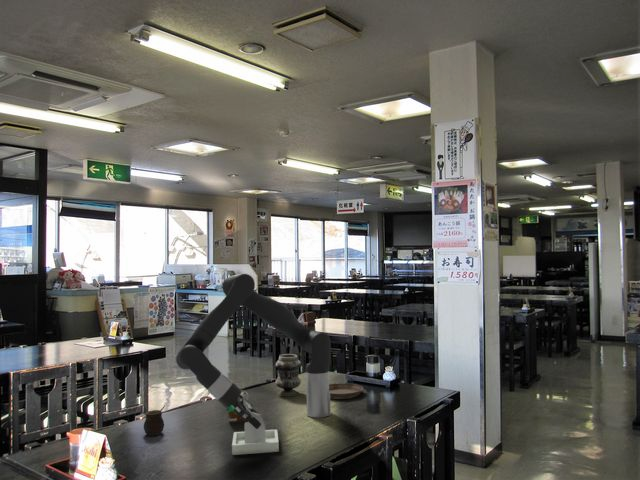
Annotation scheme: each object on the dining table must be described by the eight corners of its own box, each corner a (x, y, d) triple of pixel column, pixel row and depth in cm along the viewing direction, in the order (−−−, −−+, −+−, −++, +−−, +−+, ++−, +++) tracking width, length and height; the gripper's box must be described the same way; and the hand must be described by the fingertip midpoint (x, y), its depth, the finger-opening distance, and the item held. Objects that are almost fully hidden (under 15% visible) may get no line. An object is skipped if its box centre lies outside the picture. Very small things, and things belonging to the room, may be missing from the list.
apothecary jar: (300, 397, 232) (299, 357, 233) (274, 397, 232) (273, 358, 233) (301, 390, 244) (301, 352, 245) (277, 391, 244) (276, 353, 245)
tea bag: (256, 447, 167) (256, 416, 168) (244, 442, 172) (244, 412, 172) (265, 444, 170) (265, 413, 170) (253, 439, 175) (253, 410, 175)
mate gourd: (142, 432, 188) (142, 405, 188) (163, 429, 191) (163, 402, 192) (144, 438, 181) (144, 410, 182) (166, 435, 184) (166, 407, 185)
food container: (242, 424, 194) (242, 398, 195) (227, 424, 196) (227, 397, 196) (253, 415, 206) (252, 390, 207) (239, 414, 208) (238, 389, 208)
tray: (277, 438, 178) (277, 429, 178) (278, 451, 165) (278, 442, 166) (234, 441, 176) (233, 432, 177) (232, 454, 164) (232, 445, 164)
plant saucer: (321, 389, 247) (321, 382, 247) (364, 389, 244) (364, 382, 244) (315, 400, 226) (315, 393, 226) (362, 401, 224) (361, 393, 224)
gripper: (231, 386, 164) (267, 420, 165) (233, 377, 178) (266, 408, 179) (214, 404, 163) (251, 438, 164) (218, 393, 177) (251, 424, 178)
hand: (259, 422), depth 171 cm, fingers open, 8 cm apart
